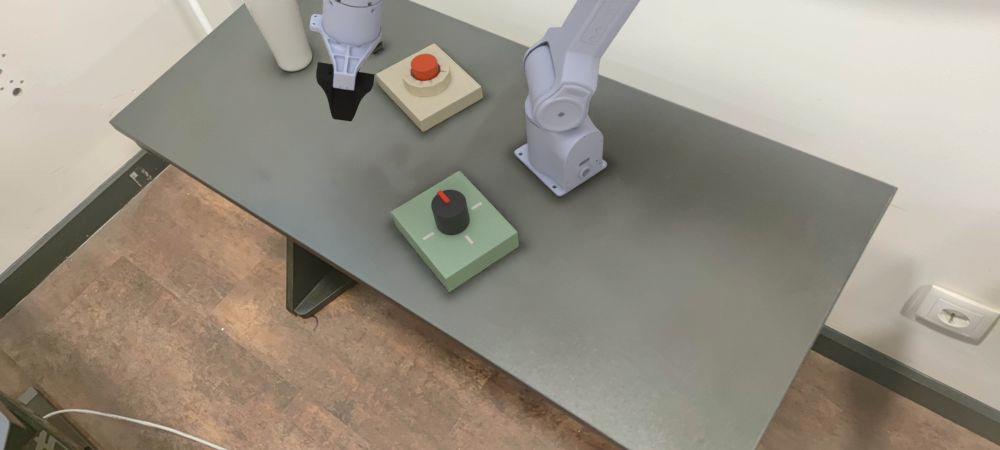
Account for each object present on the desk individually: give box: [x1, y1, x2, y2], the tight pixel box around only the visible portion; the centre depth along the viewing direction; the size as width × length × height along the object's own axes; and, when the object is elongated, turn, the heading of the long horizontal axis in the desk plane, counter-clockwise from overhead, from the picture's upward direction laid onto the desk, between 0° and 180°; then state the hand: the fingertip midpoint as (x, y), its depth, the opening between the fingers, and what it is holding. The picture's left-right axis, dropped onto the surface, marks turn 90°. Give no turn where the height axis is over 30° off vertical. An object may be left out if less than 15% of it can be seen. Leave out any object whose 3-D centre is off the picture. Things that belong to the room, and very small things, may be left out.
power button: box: [411, 54, 439, 81], centre depth 95 cm, size 4×4×2 cm
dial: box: [431, 190, 470, 235], centre depth 80 cm, size 4×4×4 cm
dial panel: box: [390, 170, 520, 293], centre depth 83 cm, size 12×10×3 cm
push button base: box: [375, 42, 484, 133], centre depth 97 cm, size 12×10×4 cm
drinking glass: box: [243, 0, 313, 72], centre depth 99 cm, size 7×7×15 cm
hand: (345, 93), depth 77 cm, fingers open, 7 cm apart
